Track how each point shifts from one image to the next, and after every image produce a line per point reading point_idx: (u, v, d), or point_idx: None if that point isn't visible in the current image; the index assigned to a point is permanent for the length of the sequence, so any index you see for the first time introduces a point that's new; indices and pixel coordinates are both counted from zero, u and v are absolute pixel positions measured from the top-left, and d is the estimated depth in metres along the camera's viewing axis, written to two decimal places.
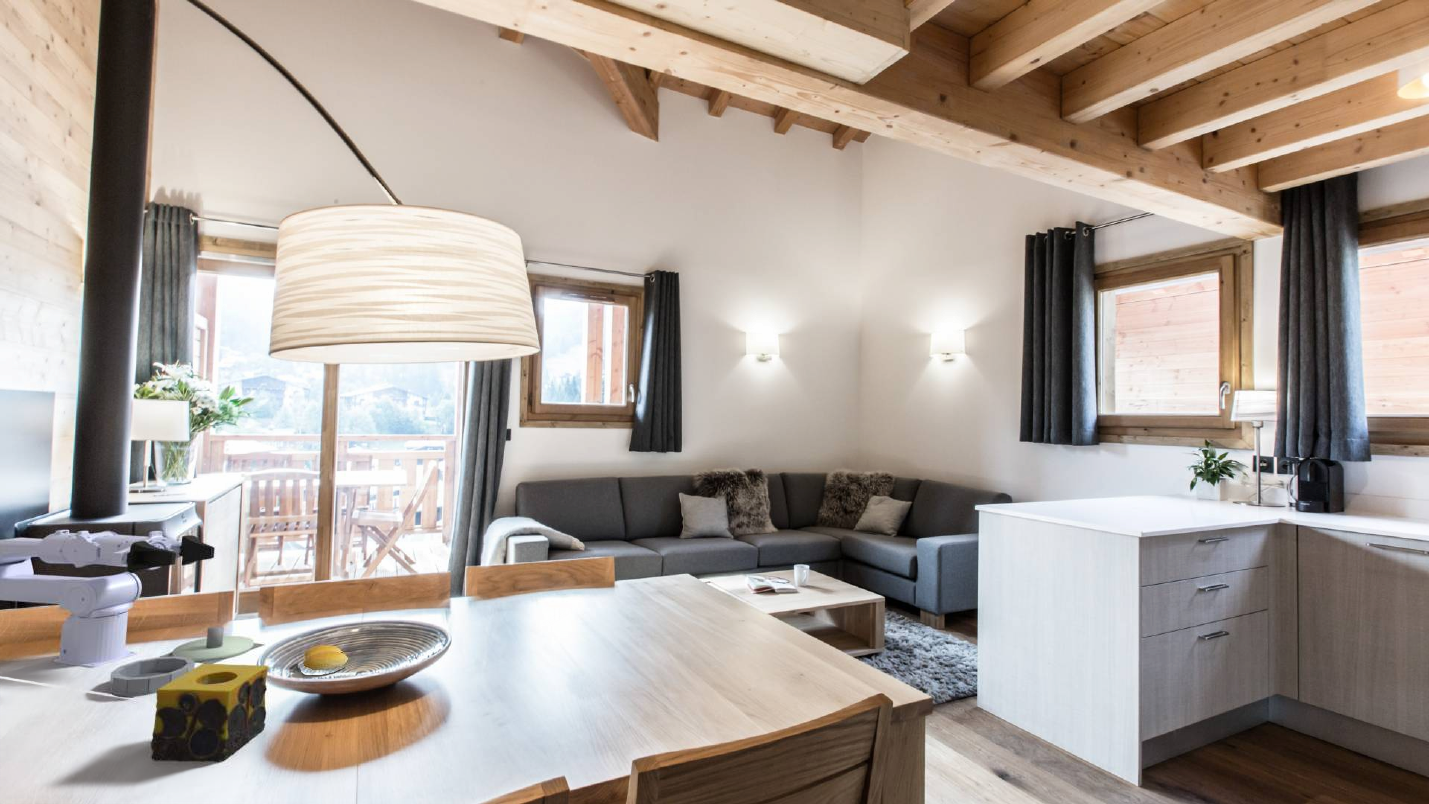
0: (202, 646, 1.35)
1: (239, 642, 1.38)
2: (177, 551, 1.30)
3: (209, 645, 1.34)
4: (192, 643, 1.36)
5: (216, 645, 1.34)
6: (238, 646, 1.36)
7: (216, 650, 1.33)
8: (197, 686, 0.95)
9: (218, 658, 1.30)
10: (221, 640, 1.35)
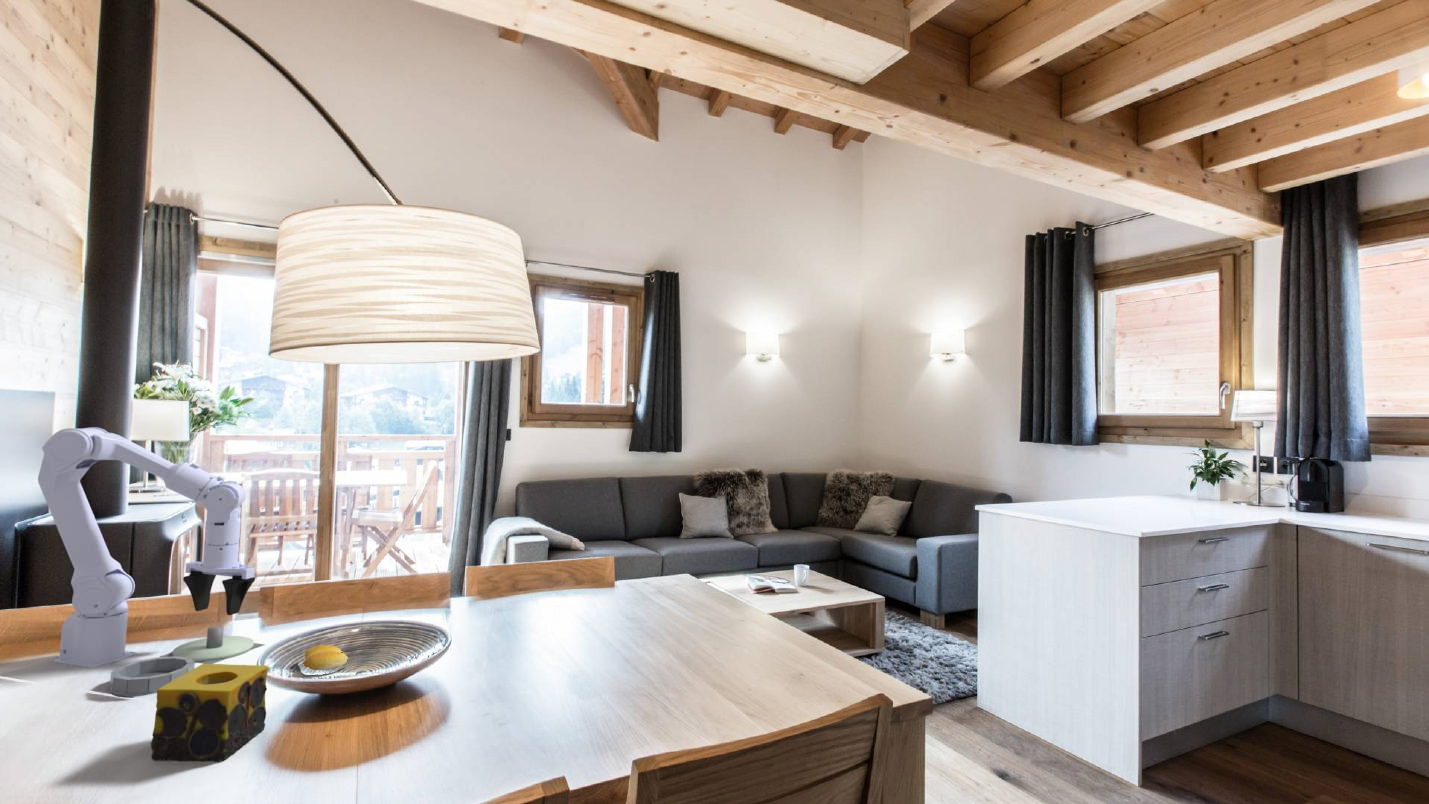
0: (202, 646, 1.35)
1: (239, 642, 1.38)
2: None
3: (209, 645, 1.34)
4: (192, 643, 1.36)
5: (216, 645, 1.34)
6: (238, 646, 1.36)
7: (216, 650, 1.33)
8: (197, 686, 0.95)
9: (218, 658, 1.30)
10: (221, 640, 1.35)
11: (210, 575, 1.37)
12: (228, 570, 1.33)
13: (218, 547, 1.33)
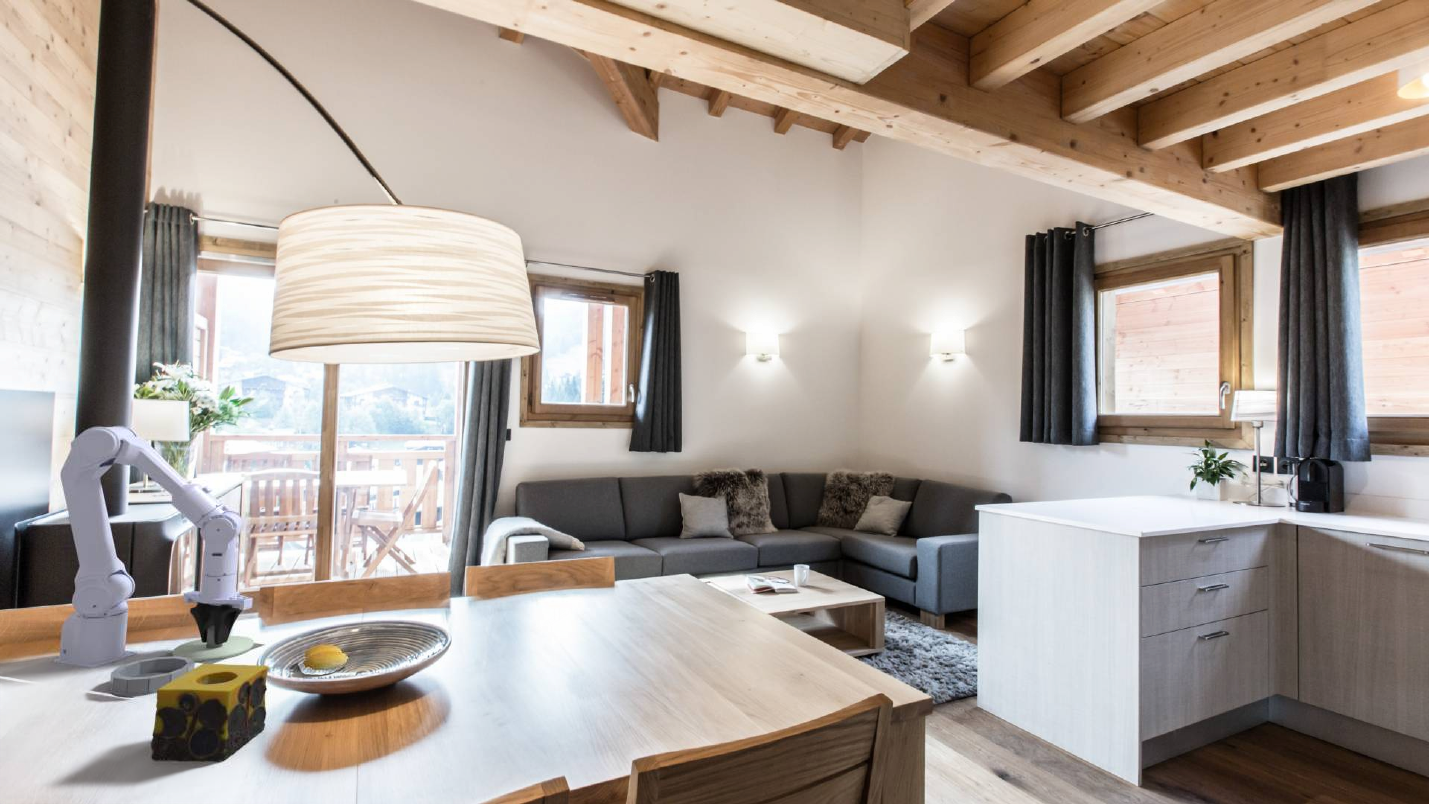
0: (202, 645, 1.35)
1: (239, 642, 1.38)
2: None
3: (209, 645, 1.34)
4: (192, 643, 1.36)
5: (216, 645, 1.34)
6: (238, 646, 1.36)
7: (216, 650, 1.33)
8: (197, 686, 0.95)
9: (218, 658, 1.30)
10: None
11: (217, 606, 1.37)
12: (226, 601, 1.33)
13: (216, 578, 1.33)
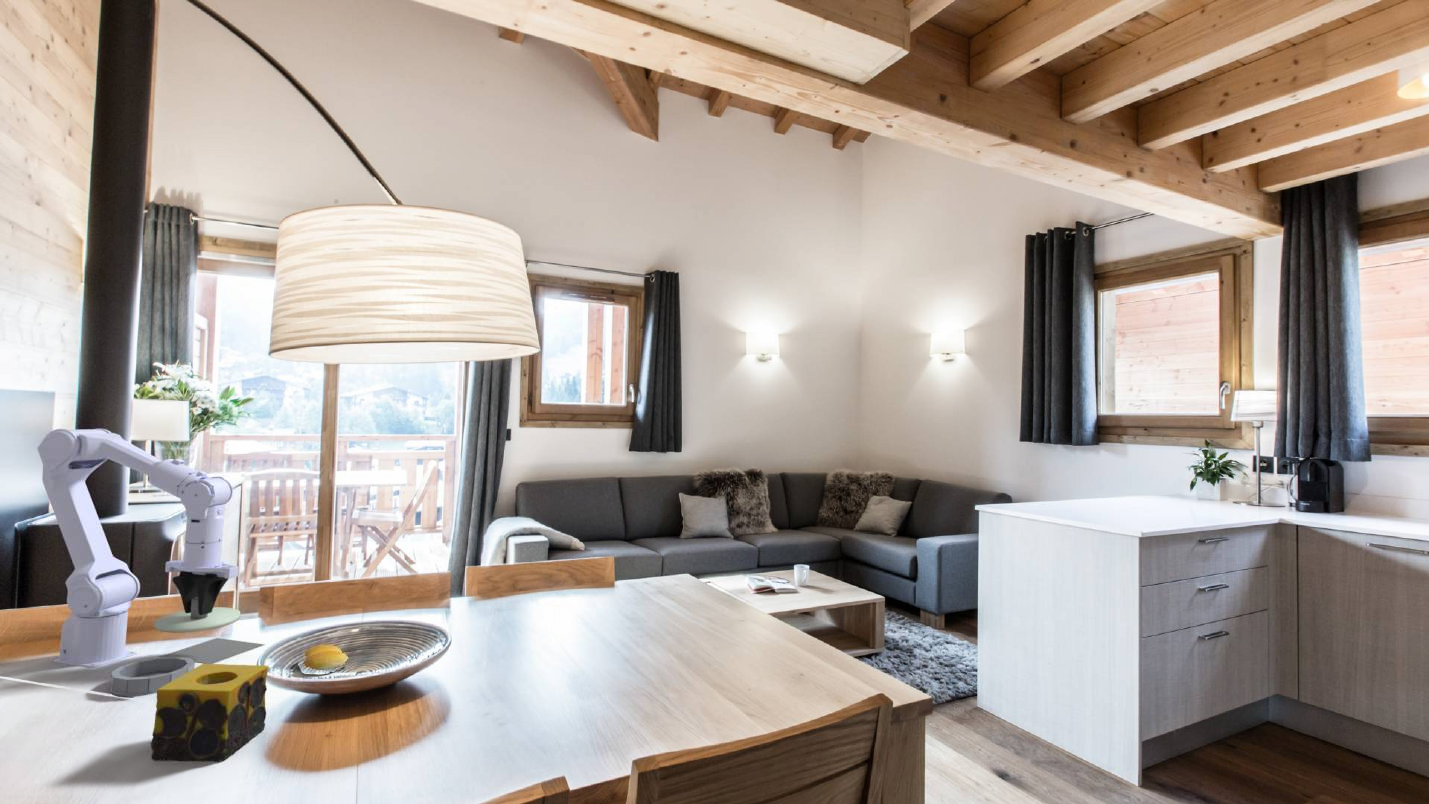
0: (186, 617, 1.29)
1: (225, 613, 1.33)
2: None
3: (193, 616, 1.28)
4: (175, 614, 1.31)
5: (201, 616, 1.29)
6: (224, 617, 1.30)
7: (201, 621, 1.27)
8: (197, 686, 0.95)
9: (203, 629, 1.25)
10: None
11: (201, 575, 1.31)
12: (210, 569, 1.27)
13: (200, 545, 1.27)
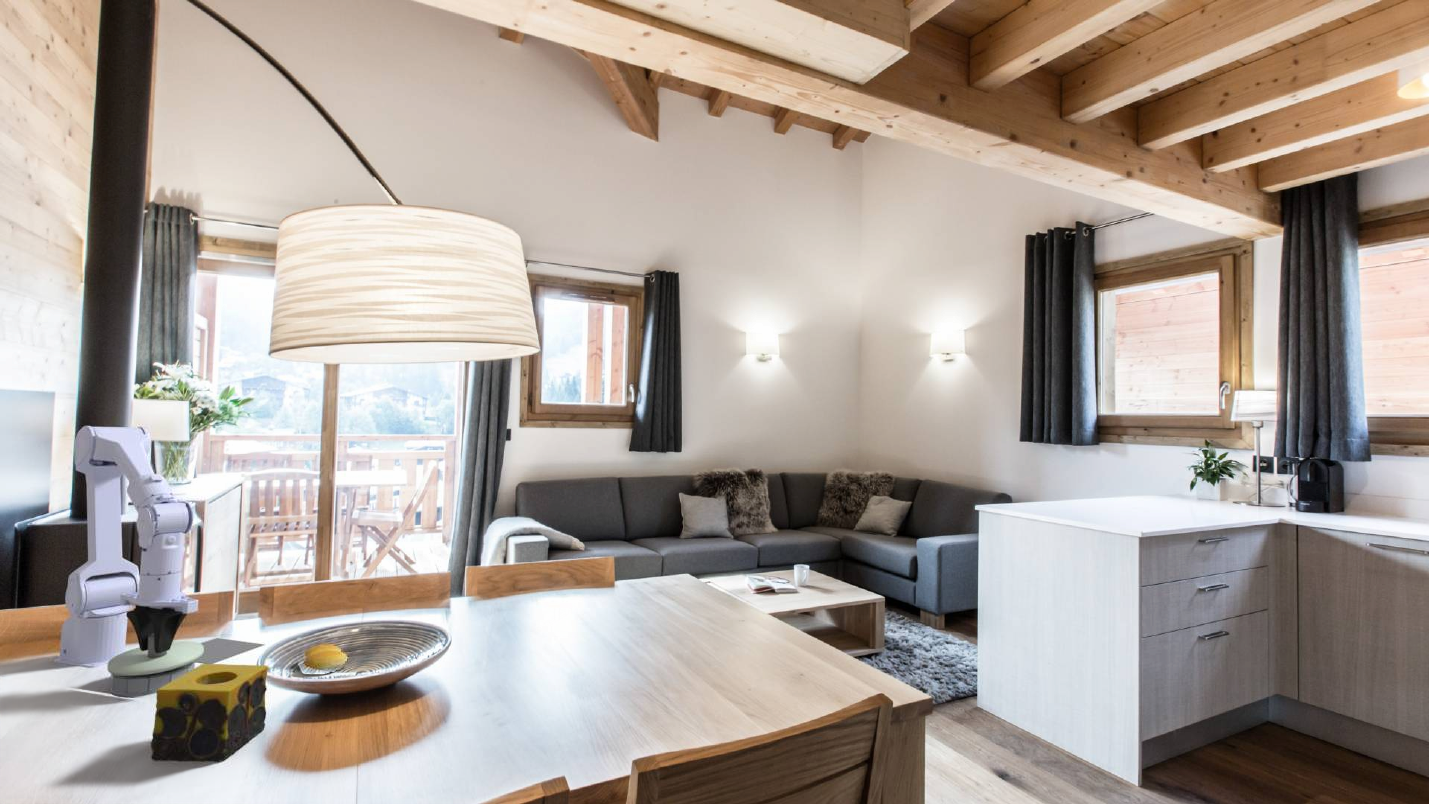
0: (143, 655, 1.19)
1: (187, 649, 1.22)
2: None
3: (151, 654, 1.17)
4: (132, 652, 1.20)
5: (159, 654, 1.18)
6: (185, 654, 1.19)
7: (159, 661, 1.16)
8: (197, 686, 0.95)
9: (160, 670, 1.14)
10: None
11: (159, 609, 1.20)
12: (167, 603, 1.16)
13: (155, 577, 1.16)
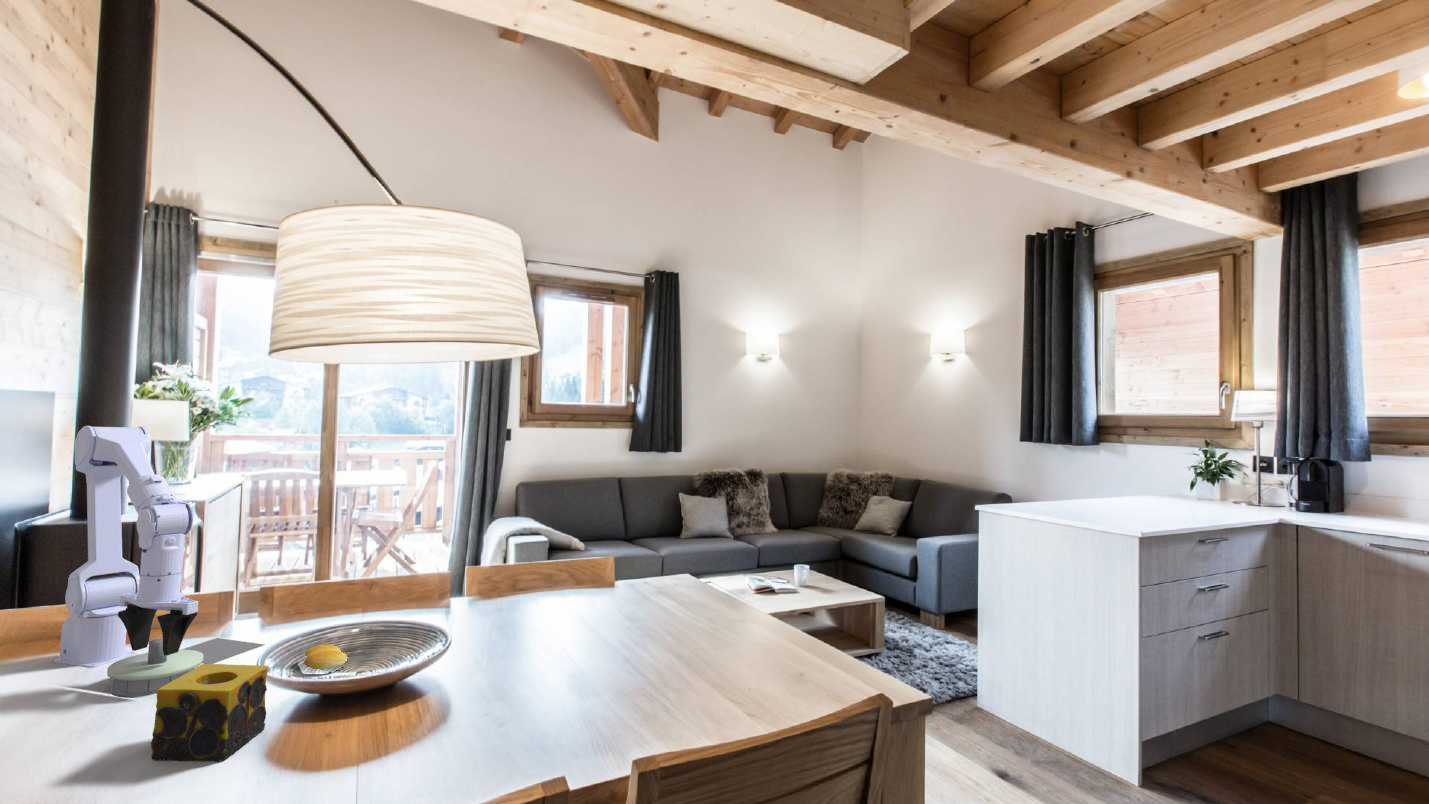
0: (143, 661, 1.19)
1: (186, 657, 1.22)
2: (142, 606, 1.19)
3: (151, 661, 1.18)
4: (132, 658, 1.20)
5: (159, 660, 1.18)
6: (185, 661, 1.19)
7: (159, 667, 1.17)
8: (197, 686, 0.95)
9: (160, 676, 1.14)
10: (165, 655, 1.19)
11: (150, 609, 1.21)
12: (167, 604, 1.16)
13: (155, 578, 1.16)
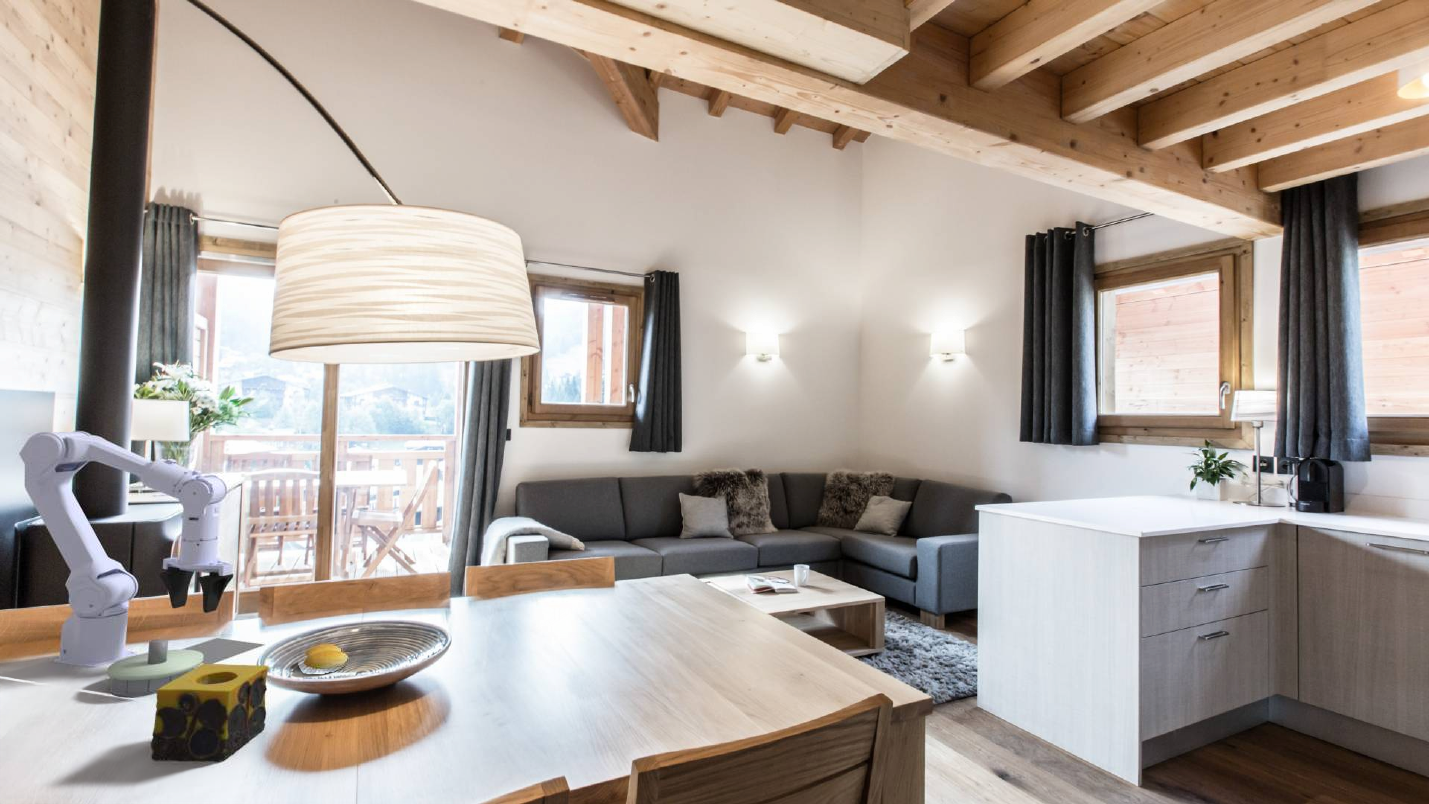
0: (143, 661, 1.19)
1: (186, 657, 1.22)
2: (183, 569, 1.32)
3: (151, 661, 1.18)
4: (132, 658, 1.20)
5: (159, 660, 1.18)
6: (185, 661, 1.19)
7: (159, 667, 1.17)
8: (197, 686, 0.95)
9: (160, 676, 1.14)
10: (165, 655, 1.19)
11: (188, 571, 1.34)
12: (205, 566, 1.29)
13: (195, 543, 1.29)
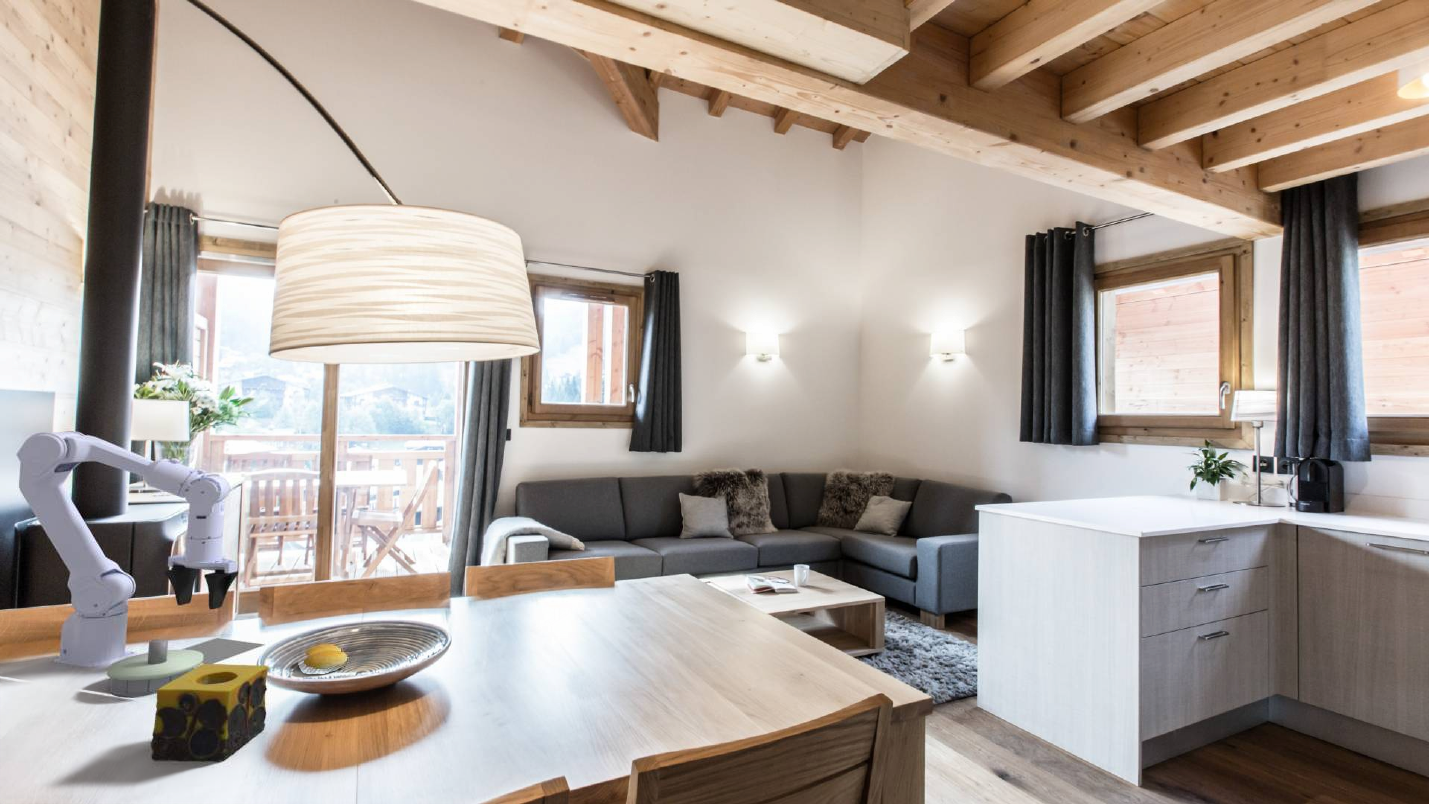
0: (143, 661, 1.19)
1: (186, 657, 1.22)
2: None
3: (151, 661, 1.18)
4: (132, 658, 1.20)
5: (159, 660, 1.18)
6: (185, 661, 1.19)
7: (159, 667, 1.17)
8: (197, 686, 0.95)
9: (160, 676, 1.14)
10: (165, 655, 1.19)
11: (193, 569, 1.36)
12: (210, 564, 1.31)
13: (200, 541, 1.32)
